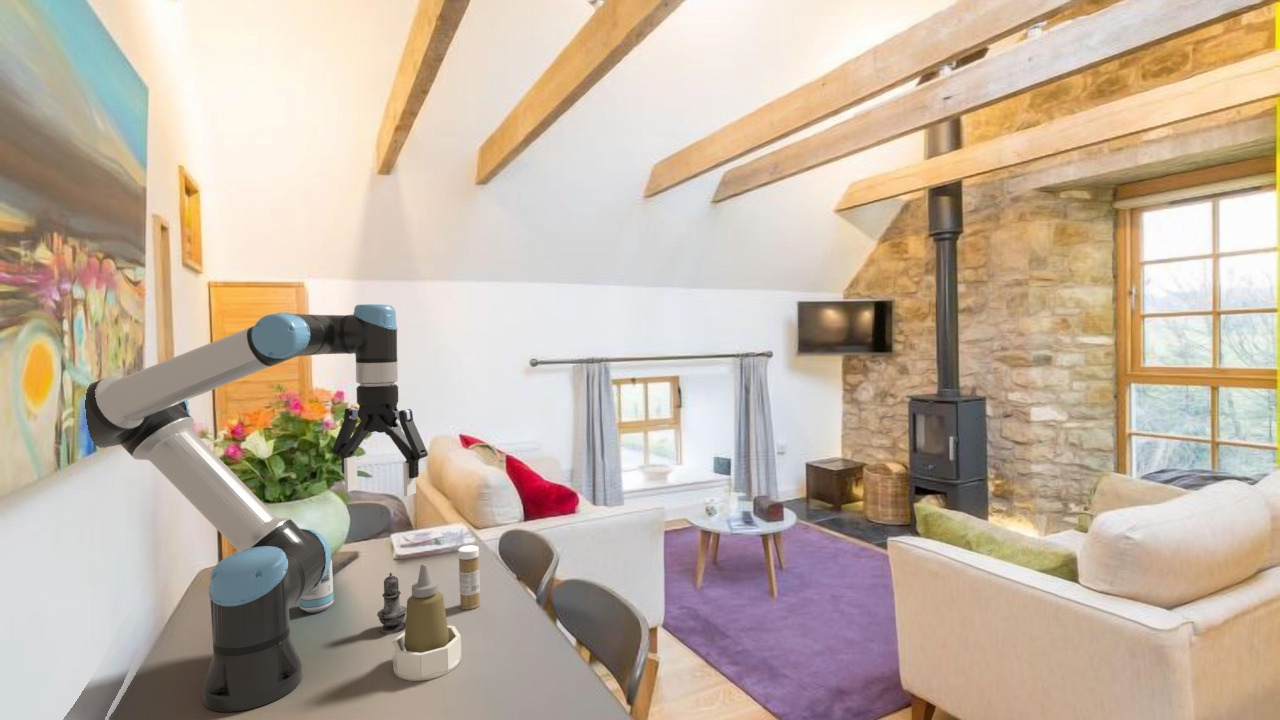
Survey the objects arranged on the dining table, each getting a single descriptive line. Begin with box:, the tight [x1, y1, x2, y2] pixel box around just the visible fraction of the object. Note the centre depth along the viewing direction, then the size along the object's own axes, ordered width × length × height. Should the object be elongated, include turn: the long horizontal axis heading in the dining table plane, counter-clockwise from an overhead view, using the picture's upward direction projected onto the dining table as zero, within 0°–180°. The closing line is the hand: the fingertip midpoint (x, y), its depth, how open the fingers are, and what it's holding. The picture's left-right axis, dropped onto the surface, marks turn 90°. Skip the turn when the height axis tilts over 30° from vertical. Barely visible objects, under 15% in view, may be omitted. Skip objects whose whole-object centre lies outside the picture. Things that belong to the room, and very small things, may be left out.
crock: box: [391, 624, 463, 682], centre depth 122 cm, size 12×12×5 cm
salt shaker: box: [376, 572, 407, 635], centre depth 136 cm, size 6×6×12 cm
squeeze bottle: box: [404, 563, 449, 653], centre depth 121 cm, size 8×8×18 cm
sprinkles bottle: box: [457, 544, 481, 610], centre depth 147 cm, size 5×5×13 cm
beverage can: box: [298, 559, 334, 614], centre depth 147 cm, size 7×7×12 cm
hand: (380, 492), depth 127 cm, fingers open, 13 cm apart
